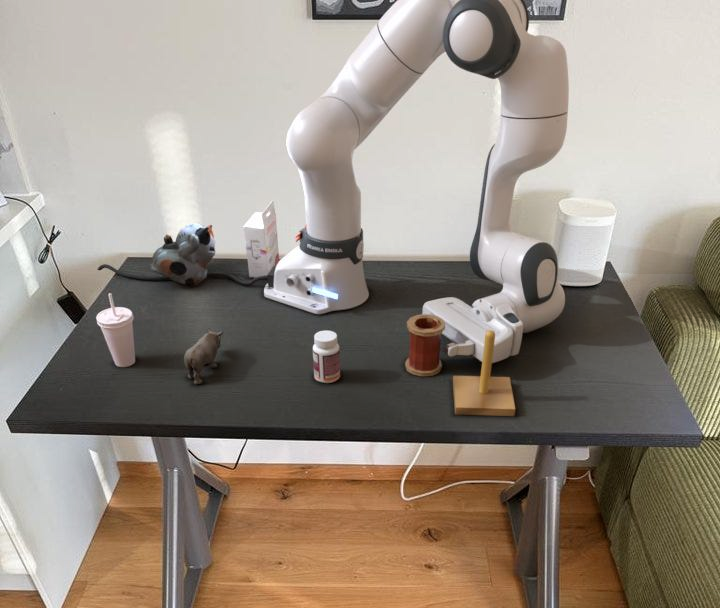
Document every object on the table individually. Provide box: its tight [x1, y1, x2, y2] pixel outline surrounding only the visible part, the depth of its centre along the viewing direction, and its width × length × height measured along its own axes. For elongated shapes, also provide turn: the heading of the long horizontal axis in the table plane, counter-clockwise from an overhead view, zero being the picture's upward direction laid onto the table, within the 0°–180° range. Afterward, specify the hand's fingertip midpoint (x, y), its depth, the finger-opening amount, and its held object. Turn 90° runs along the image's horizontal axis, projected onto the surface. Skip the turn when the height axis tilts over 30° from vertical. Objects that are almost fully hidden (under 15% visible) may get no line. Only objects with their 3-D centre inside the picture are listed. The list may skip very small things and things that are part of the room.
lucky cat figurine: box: [147, 223, 217, 287], centre depth 167 cm, size 15×12×14 cm
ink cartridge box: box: [242, 200, 280, 279], centre depth 168 cm, size 9×5×15 cm, turn 168°
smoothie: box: [95, 292, 136, 368], centre depth 138 cm, size 6×6×14 cm
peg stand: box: [452, 330, 516, 417], centre depth 128 cm, size 10×10×13 cm
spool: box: [404, 314, 445, 377], centre depth 138 cm, size 7×7×9 cm
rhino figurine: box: [183, 327, 224, 385], centre depth 139 cm, size 4×14×6 cm, turn 164°
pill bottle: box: [312, 330, 341, 384], centre depth 136 cm, size 5×5×8 cm
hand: (431, 339), depth 138 cm, fingers open, 8 cm apart
